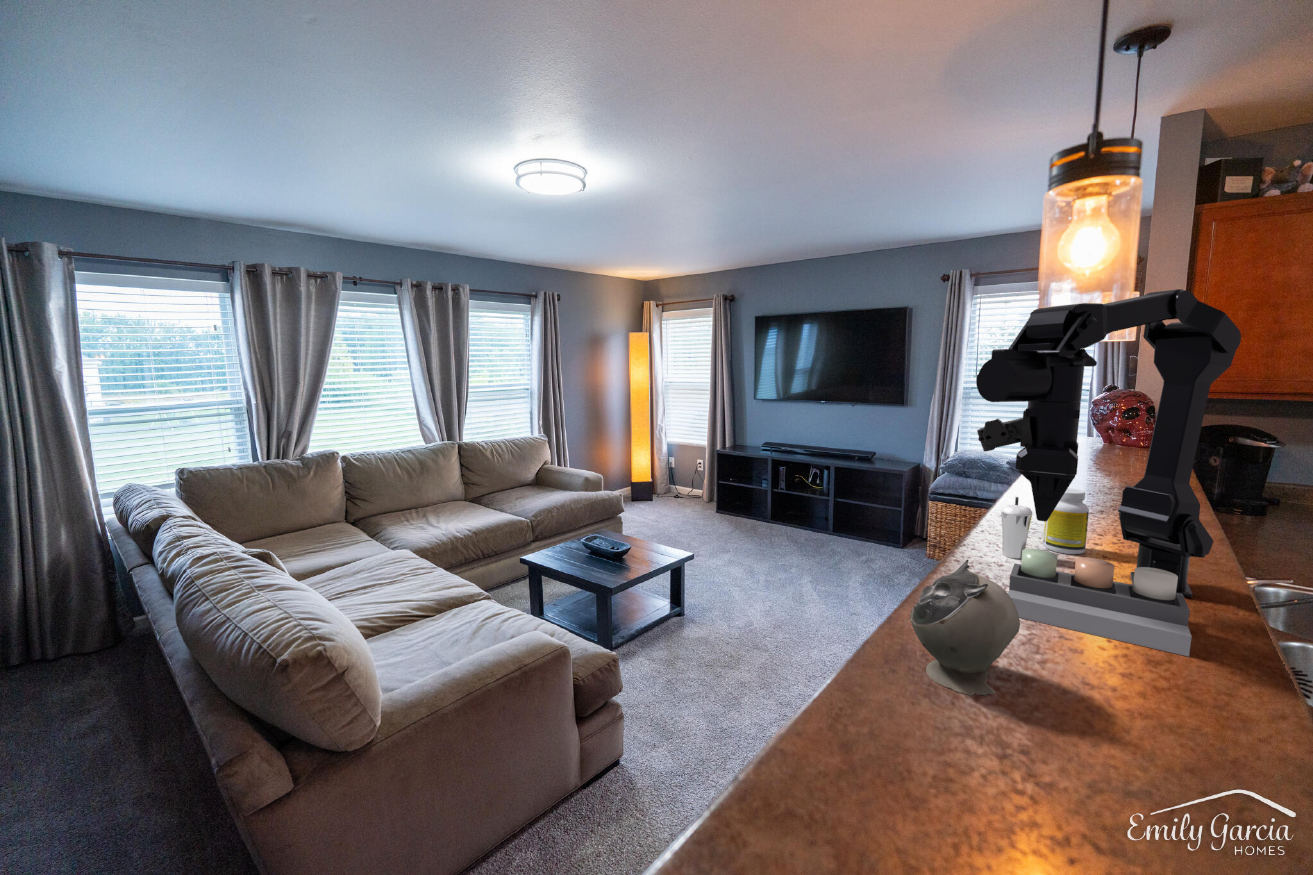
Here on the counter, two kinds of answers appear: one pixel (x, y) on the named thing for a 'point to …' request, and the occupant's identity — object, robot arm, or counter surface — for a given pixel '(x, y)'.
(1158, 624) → the button panel
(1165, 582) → the button ivory
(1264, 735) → the counter surface
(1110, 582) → the button terracotta
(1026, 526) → the milkshake
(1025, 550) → the button sage
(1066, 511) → the pill bottle
